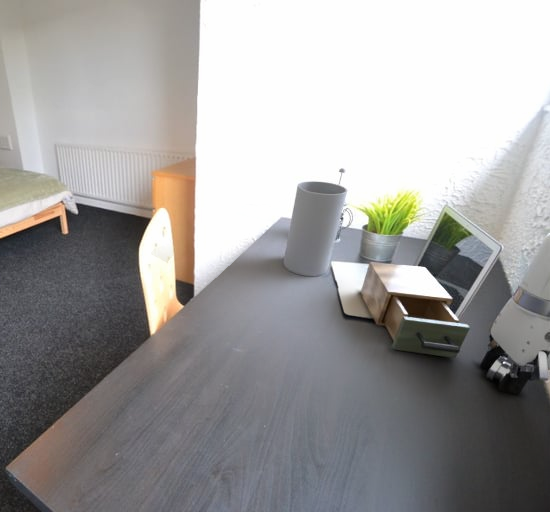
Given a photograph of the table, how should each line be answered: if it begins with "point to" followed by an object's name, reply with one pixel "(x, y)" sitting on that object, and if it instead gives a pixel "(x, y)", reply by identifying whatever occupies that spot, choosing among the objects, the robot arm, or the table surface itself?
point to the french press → (342, 215)
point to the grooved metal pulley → (499, 369)
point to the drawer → (424, 326)
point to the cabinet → (398, 286)
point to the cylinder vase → (314, 227)
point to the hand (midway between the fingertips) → (498, 378)
